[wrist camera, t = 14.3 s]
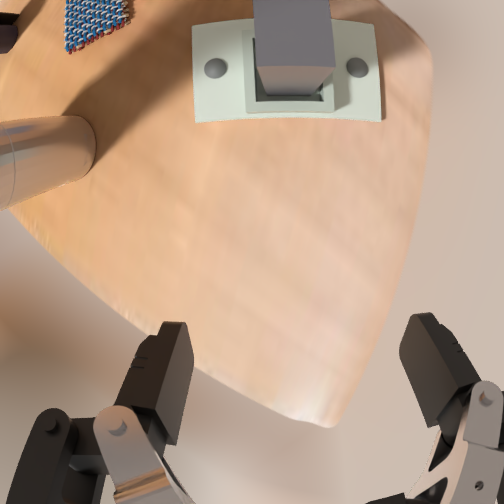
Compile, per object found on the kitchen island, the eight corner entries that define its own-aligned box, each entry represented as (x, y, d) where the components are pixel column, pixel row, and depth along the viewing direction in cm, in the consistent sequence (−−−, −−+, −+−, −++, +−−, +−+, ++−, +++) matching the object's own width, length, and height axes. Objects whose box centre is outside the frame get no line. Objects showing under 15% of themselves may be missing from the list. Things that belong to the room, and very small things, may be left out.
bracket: (197, 123, 29) (188, 122, 26) (194, 28, 24) (184, 18, 21) (378, 122, 27) (389, 121, 24) (371, 26, 22) (380, 17, 19)
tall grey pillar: (267, 96, 26) (256, 66, 14) (264, 52, 24) (252, -5, 12) (310, 96, 26) (335, 67, 13) (307, 51, 24) (328, -4, 11)
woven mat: (70, 58, 26) (62, 56, 24) (70, 4, 22) (62, 1, 20) (132, 27, 24) (125, 22, 23) (129, -27, 20) (122, -33, 18)
